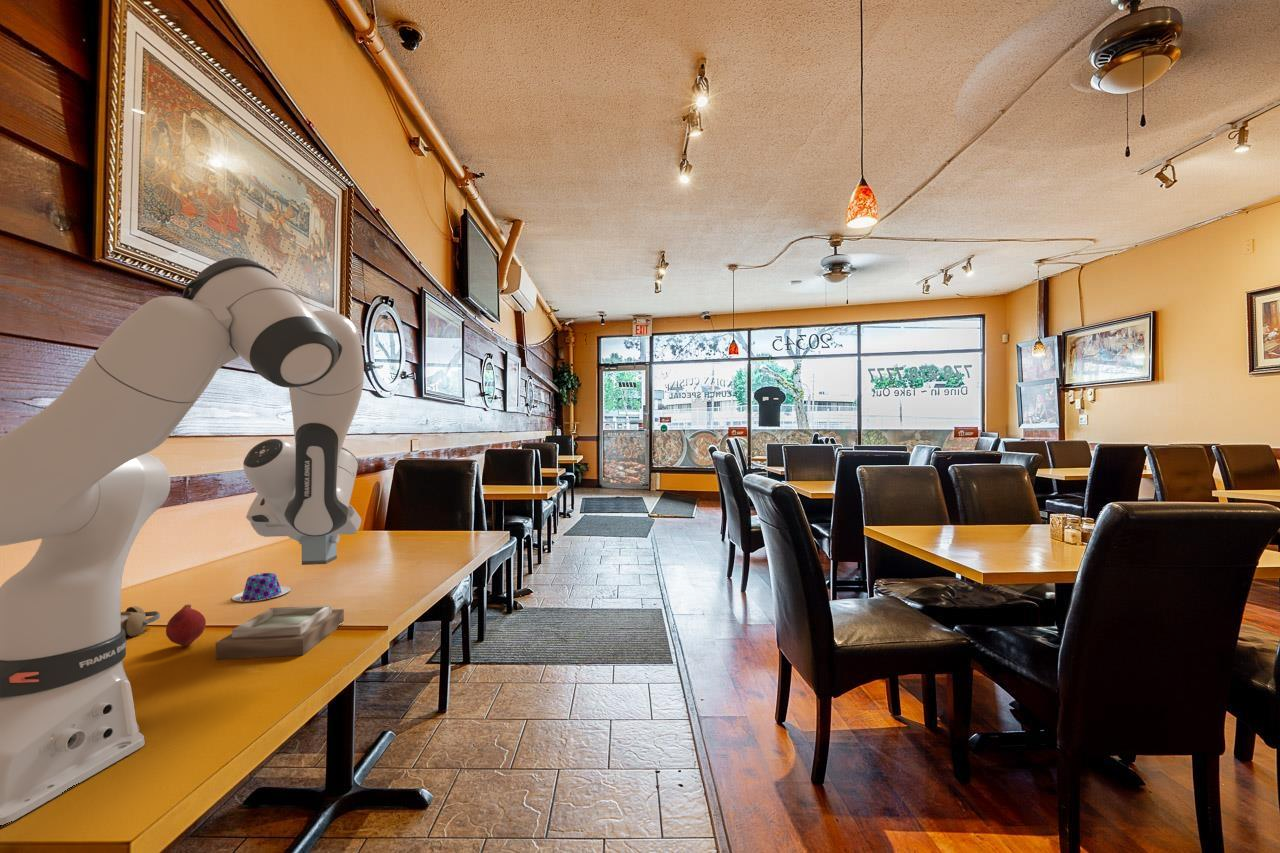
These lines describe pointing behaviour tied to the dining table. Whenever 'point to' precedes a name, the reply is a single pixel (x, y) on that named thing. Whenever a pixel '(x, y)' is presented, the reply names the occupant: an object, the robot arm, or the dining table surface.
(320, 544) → the light blue-grey block
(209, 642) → the dining table surface
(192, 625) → the onion
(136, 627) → the alarm clock
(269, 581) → the purple and white hat
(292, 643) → the tray
